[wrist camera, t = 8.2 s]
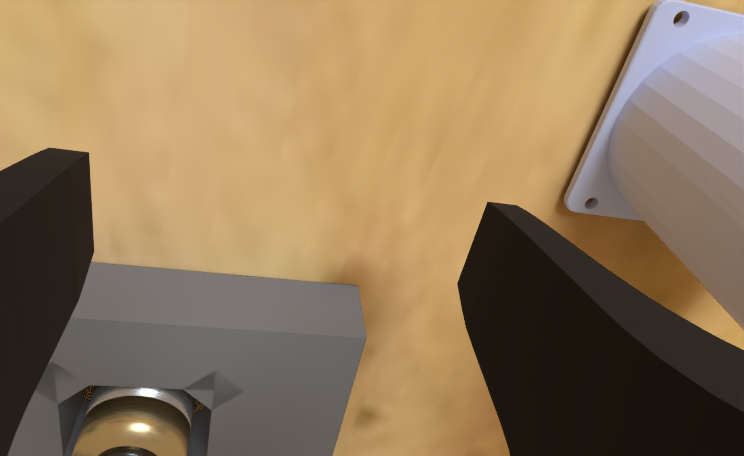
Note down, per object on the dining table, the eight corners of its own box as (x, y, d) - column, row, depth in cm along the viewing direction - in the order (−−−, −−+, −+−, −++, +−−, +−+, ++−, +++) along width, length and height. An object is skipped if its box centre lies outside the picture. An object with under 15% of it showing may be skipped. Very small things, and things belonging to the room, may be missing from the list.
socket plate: (357, 285, 24) (366, 338, 22) (311, 463, 30) (313, 519, 28) (-88, 246, 21) (-138, 303, 18) (-35, 457, 27) (-67, 520, 24)
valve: (196, 337, 25) (178, 439, 21) (202, 400, 27) (187, 504, 23) (95, 338, 24) (56, 444, 20) (109, 403, 26) (77, 510, 22)
